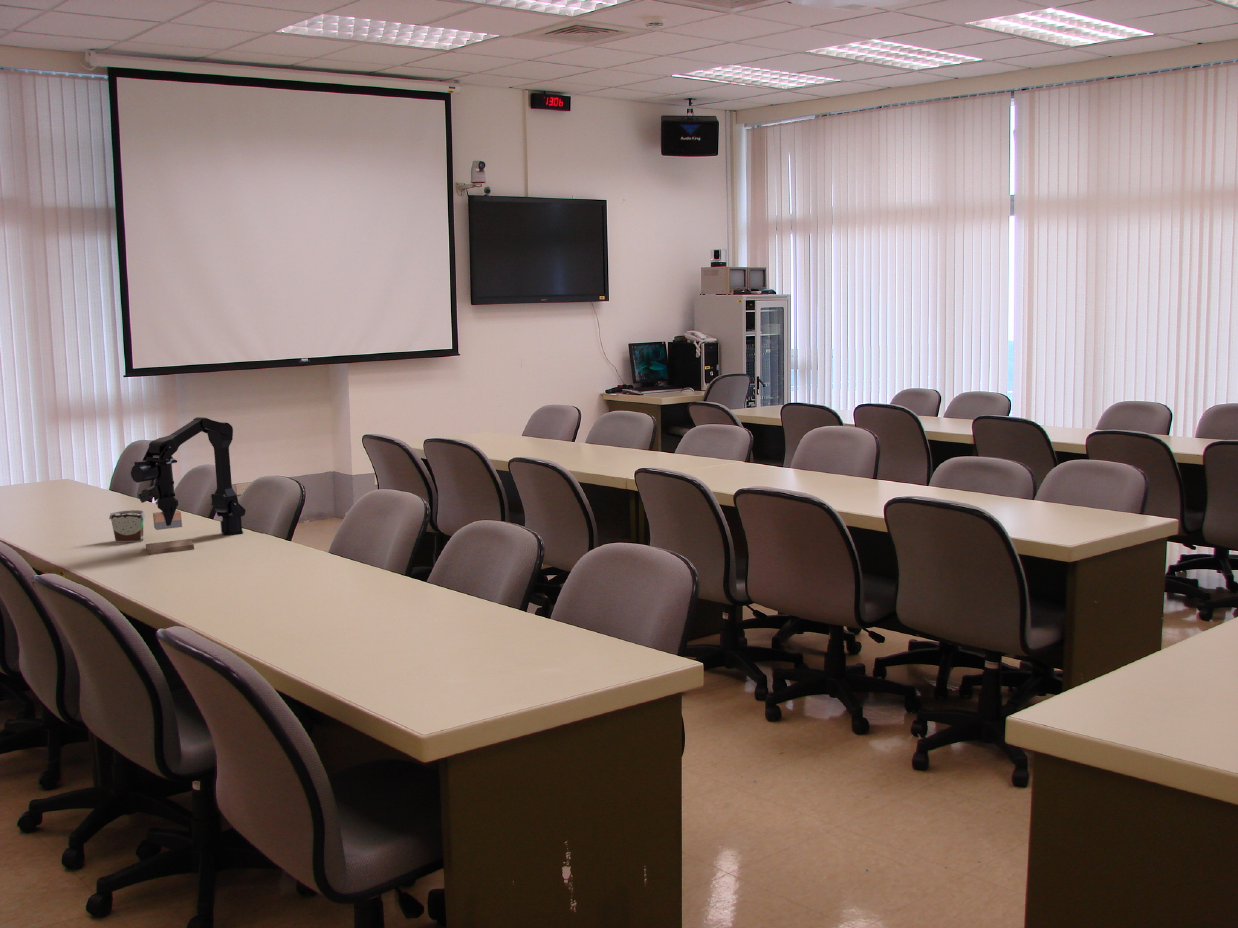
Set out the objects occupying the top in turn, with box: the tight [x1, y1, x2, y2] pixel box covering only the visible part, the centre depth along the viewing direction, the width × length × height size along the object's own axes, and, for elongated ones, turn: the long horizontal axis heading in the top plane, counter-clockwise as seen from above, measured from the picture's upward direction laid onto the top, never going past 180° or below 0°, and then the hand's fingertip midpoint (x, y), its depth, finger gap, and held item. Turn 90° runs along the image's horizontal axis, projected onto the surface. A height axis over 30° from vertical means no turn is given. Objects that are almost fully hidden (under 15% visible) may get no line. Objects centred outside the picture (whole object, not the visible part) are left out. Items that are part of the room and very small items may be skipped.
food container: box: [109, 509, 146, 543], centre depth 380 cm, size 12×6×10 cm, turn 84°
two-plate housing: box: [152, 509, 183, 531], centre depth 362 cm, size 5×8×5 cm, turn 121°
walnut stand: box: [145, 538, 195, 555], centre depth 364 cm, size 14×11×2 cm
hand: (168, 524), depth 363 cm, fingers closed on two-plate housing, 5 cm apart
